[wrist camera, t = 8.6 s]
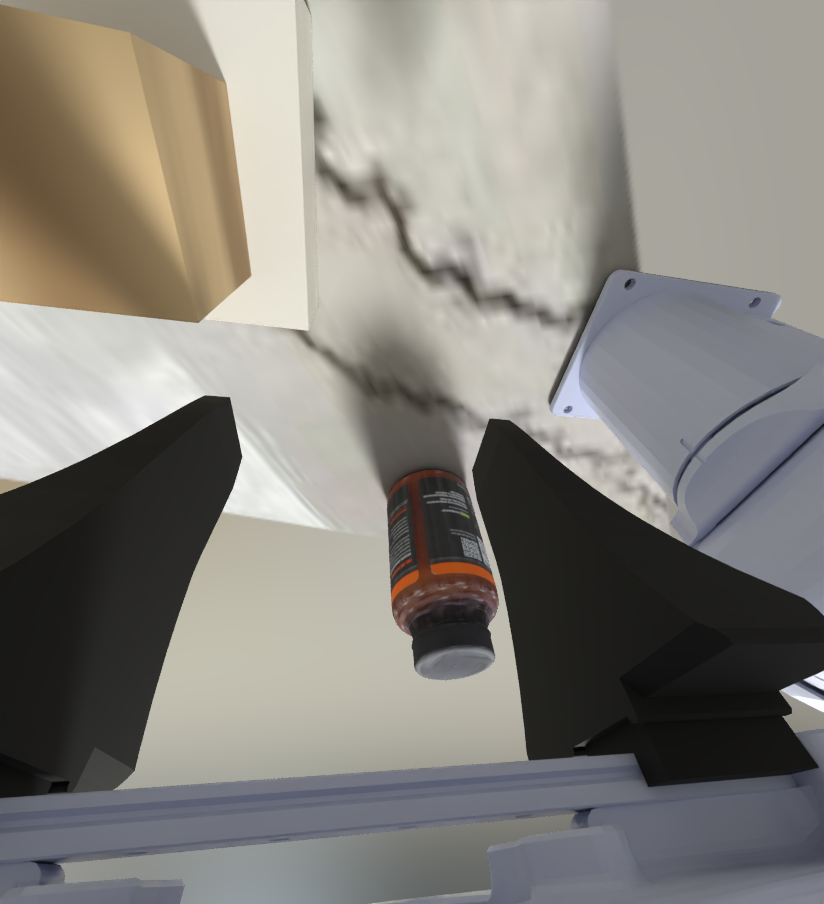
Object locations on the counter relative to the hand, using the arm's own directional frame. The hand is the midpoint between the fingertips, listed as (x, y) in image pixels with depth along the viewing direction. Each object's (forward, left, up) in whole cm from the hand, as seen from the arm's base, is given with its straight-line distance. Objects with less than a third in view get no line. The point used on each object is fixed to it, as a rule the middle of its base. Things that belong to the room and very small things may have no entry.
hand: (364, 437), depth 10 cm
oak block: (+7, -5, -6) cm, 11 cm away
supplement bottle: (-5, +12, -10) cm, 16 cm away
